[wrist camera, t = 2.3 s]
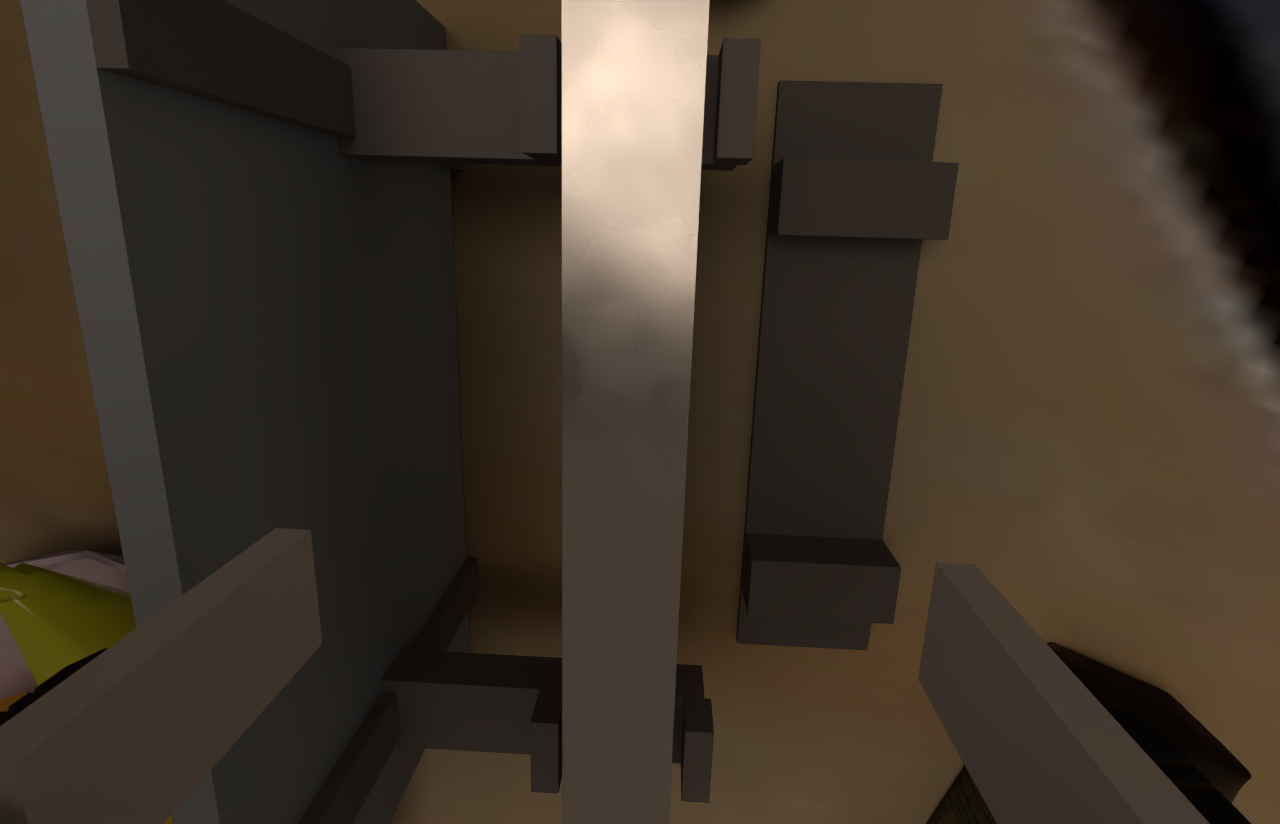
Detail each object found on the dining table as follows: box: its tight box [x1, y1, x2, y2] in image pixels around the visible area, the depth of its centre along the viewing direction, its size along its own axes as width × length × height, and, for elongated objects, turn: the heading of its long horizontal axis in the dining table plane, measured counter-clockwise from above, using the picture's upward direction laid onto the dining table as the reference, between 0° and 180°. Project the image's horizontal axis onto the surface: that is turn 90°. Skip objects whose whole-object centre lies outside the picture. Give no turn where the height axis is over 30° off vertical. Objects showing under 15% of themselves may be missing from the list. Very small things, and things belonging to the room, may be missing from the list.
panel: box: [20, 0, 761, 824], centre depth 24 cm, size 14×32×20 cm, turn 178°
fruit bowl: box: [0, 550, 173, 824], centre depth 34 cm, size 28×27×11 cm
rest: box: [736, 81, 959, 650], centre depth 32 cm, size 7×28×4 cm, turn 178°
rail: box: [562, 0, 709, 824], centre depth 21 cm, size 4×26×4 cm, turn 178°
